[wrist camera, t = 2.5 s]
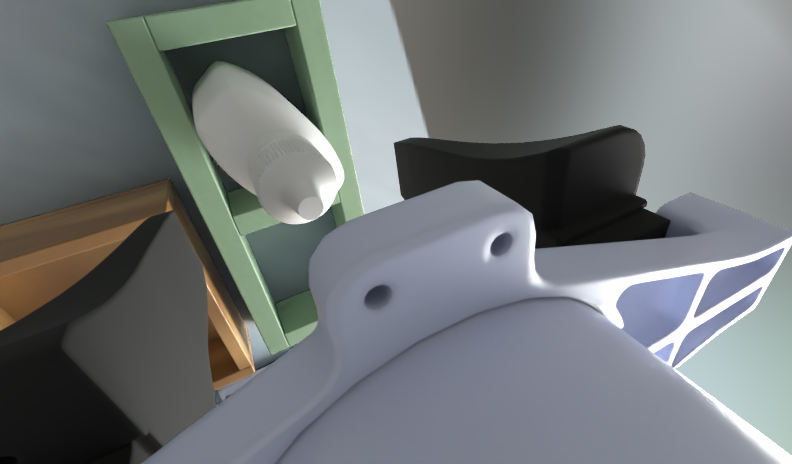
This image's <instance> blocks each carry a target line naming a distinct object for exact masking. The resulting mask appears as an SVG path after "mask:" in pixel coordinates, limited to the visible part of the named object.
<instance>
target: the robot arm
mask: <svg viewBox="0 0 792 464" xmlns="http://www.w3.org/2000/svg"><path fill="white" fill-rule="evenodd" d="M394 148H395V155H396V162H397V169H398V177H399V184H400V191H401V195H402V197H403V198H404V199H405V201H402V202H399V203H396V204H393V205H391V206H388V207H385V208H382V209H379V210H377V211H374V212H371V213H368V214H365V215H363V216H360V217H357V218H354V219H351V220H349V221H347V222H346V223H344V224H343V225H341V226H339V227H338V228H336V229H335V230H333V231H332V232H330V233H328V234H327V235H325V236H324V237H323V239H322V240H321V242H320V243H319V245H318V247H317V248H316V250H315V251H314V253H313V255H312V256H311V258H310V260H309V287H310V290H311V293H312V296H313V299H314V302H315V305H316V307H317V313H318V322H317V326H316V328H315V329H314V331H313V332H312V333H311V334H310V335H309V336H307V337H306V338H305V339H304V340H302V341H301V342H300V343H298V344H297V345H296V346H294V347H293V348H292V349H290V350H289V351H288V352H286V353H285V354H284V355H283V356H281V357H280V358H279V359H277V360H276V361H275V362H273V363H272V364H270V365H268V366H265V367H263V368H261V369H259V370H256V371H255V373H253V374H251V375H249V376H247V377H244V378H242V379H240V380H238V381H235V382H233V383H231V384H229V385H226V386H224V387H222V388H220V389H219V390H218V393H219V397H220V398H221V400H222V402H221V403H220V404H218V405H216V400H215V394H214V388H213V382H212V376H211V369H210V362H209V352H208V300H207V285H206V280H205V275H204V270H203V265H202V263H201V261H200V259H199V257H198V255H197V253H196V251H195V250H194V248H193V246H192V244H191V242H190V240H189V238H188V237H187V235H186V233H185V231H184V229H183V227H182V226H181V224H180V222H179V220H178V218H177V216H176V214H175V213H174V211H173V210H171V211H168V212H164V213H161V214H158V215H154V216H151V217H149V218H148V219H146V220H145V221H144V222H143V223H142V224H140V225H139V226H138V227H137V228H136V229H135V230H134V231H133V232H132V233H131V234H130V235H129V236H128V237H127V238H126V239H125V240H124V241H123V242H122V243H121V244H120V245H119V246H118V247H117V248H116V249H115V250H114V251H113V252H112V253H111V254H109V255H108V256H107V257H106V258H105V259H104V260H103V261H102V262H101V263H99V264H98V265H97V266H96V267H95V268H94V269H93V270H92V271H90V272H89V273H88V274H87V275H85V276H84V277H83V278H82V279H80V280H79V281H78V282H76V283H75V284H74V285H72V286H71V287H70V288H68V289H67V290H65V291H64V292H63V293H61V294H60V295H58V296H57V297H55V298H54V299H52V300H51V301H49V302H47V303H46V304H44V305H43V306H41V307H39V308H38V309H36V310H35V311H33V312H31V313H30V314H28V315H27V316H25V317H23V318H22V319H20V320H19V321H17V322H15V323H13V324H12V325H10V326H8V327H6V328H4V329H2V330H1V331H0V464H792V456H791V455H789V454H788V453H787V452H785V451H784V450H783V449H781V448H780V447H779V446H777V445H776V444H775V443H773V442H772V441H771V440H769V439H768V438H766V437H765V436H764V435H763V434H761V433H760V432H758V431H757V430H756V429H755V428H753V427H752V426H750V425H749V424H748V423H746V422H745V421H744V420H742V419H741V418H740V417H738V416H737V415H736V414H734V413H733V412H732V411H730V410H729V409H728V408H726V407H725V406H724V405H722V404H721V403H720V402H718V401H717V400H715V399H714V398H713V397H712V396H710V395H709V394H707V393H706V392H705V391H704V390H702V389H701V388H699V387H698V386H697V385H695V384H694V383H693V382H691V381H690V380H689V379H687V378H686V377H685V376H683V375H682V374H681V373H679V372H678V371H676V370H675V369H676V368H677V367H679V366H680V365H681V364H682V363H684V362H685V361H686V360H687V359H688V358H689V357H690V356H692V355H693V354H694V353H695V352H697V351H698V350H699V349H700V348H702V347H703V346H704V345H705V344H706V343H708V342H709V341H710V340H711V339H712V338H714V337H715V336H717V335H718V334H719V333H721V332H722V331H723V330H725V329H726V328H727V327H729V326H730V325H731V324H733V323H734V322H736V321H737V320H739V319H740V318H741V317H743V316H744V315H746V314H747V313H749V312H750V311H752V310H753V309H754V308H755V307H756V305H757V303H758V302H759V300H760V298H761V296H762V295H763V293H764V291H765V290H766V288H767V286H768V284H769V283H770V281H771V279H772V277H773V276H774V274H775V272H776V270H777V268H778V267H779V265H780V263H781V262H782V260H783V258H784V256H785V255H786V253H787V251H788V249H789V248H790V246H791V244H792V230H790V229H788V228H785V227H783V226H780V225H777V224H774V223H772V222H769V221H766V220H764V219H761V218H758V217H756V216H753V215H750V214H748V213H745V212H742V211H739V210H737V209H734V208H731V207H729V206H726V205H723V204H721V203H718V202H715V201H712V200H710V199H707V198H704V197H701V196H699V195H696V194H694V193H688V194H685V195H683V196H681V197H679V198H677V199H674V200H672V201H670V202H668V203H666V204H664V205H663V206H662V207H660V208H659V209H658V210H657V212H656V213H653V212H650V211H648V210H646V209H644V207H646V205H647V201H646V200H645V199H643V198H641V197H638V196H636V192H637V188H638V184H639V181H640V177H641V173H642V168H643V165H644V159H645V145H644V141H643V139H642V136H641V135H640V134H639V133H638V132H637V131H636V130H634V129H631V128H627V127H624V126H621V125H618V126H613V127H609V128H604V129H600V130H596V131H592V132H588V133H584V134H579V135H575V136H569V137H563V138H557V139H552V140H544V141H534V142H524V143H505V144H504V143H500V144H489V143H469V142H458V141H449V140H440V139H430V138H409V139H405V140H402V141H399V142H395V143H394ZM227 395H229V396H227Z"/></svg>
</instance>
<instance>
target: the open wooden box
mask: <svg viewBox="0 0 792 464" xmlns="http://www.w3.org/2000/svg"><path fill="white" fill-rule="evenodd" d="M171 210H173V211H174V213H175V214H176V216H177V218H178V220H179V222H180V224H181V226H182V227H183V229H184V231H185V233H186V235H187V237H188V238H189V240H190V242H191V244H192V246H193V248H194V250H195V251H196V253H197V255H198V257H199V259H200V261H201V263H202V265H203V270H204V275H205V280H206V285H207V300H208V352H209V362H210V369H211V376H212V382H213V388H214V391H215V390H218V389H220V388H222V387H224V386H226V385H229V384H231V383H233V382H235V381H238V380H240V379H242V378H244V377H247V376H249V375H251V374H253V373H255V367H254V362H253V357H252V351H251V346H250V340H249V335H248V329H247V327H246V325H245V323H244V321H243V319H242V317H241V316H240V314H239V312H238V310H237V308H236V306H235V304H234V302H233V300H232V298H231V296H230V294H229V292H228V290H227V289H226V287H225V285H224V283H223V281H222V279H221V277H220V275H219V273H218V271H217V269H216V267H215V265H214V263H213V262H212V260H211V258H210V256H209V254H208V252H207V250H206V248H205V246H204V244H203V242H202V240H201V238H200V236H199V235H198V233H197V231H196V229H195V227H194V225H193V223H192V221H191V219H190V217H189V215H188V213H187V211H186V209H185V208H184V206H183V204H182V202H181V200H180V198H179V196H178V194H177V192H176V190H175V188H174V186H173V184H172V182H171V181H170V179H166V180H163V181H159V182H156V183H152V184H148V185H145V186H141V187H138V188H134V189H131V190H127V191H124V192H120V193H116V194H113V195H109V196H106V197H102V198H99V199H95V200H91V201H88V202H84V203H81V204H77V205H74V206H70V207H67V208H63V209H59V210H56V211H52V212H49V213H45V214H42V215H38V216H34V217H31V218H27V219H24V220H20V221H17V222H13V223H10V224H6V225H2V226H0V331H1V330H2V329H4V328H6V327H8V326H10V325H12V324H13V323H15V322H17V321H19V320H20V319H22V318H23V317H25V316H27V315H28V314H30V313H31V312H33V311H35V310H36V309H38V308H39V307H41V306H43V305H44V304H46V303H47V302H49V301H51V300H52V299H54V298H55V297H57V296H58V295H60V294H61V293H63V292H64V291H65V290H67V289H68V288H70V287H71V286H72V285H74V284H75V283H76V282H78V281H79V280H80V279H82V278H83V277H84V276H85V275H87V274H88V273H89V272H90V271H92V270H93V269H94V268H95V267H96V266H97V265H98V264H99V263H101V262H102V261H103V260H104V259H105V258H106V257H107V256H108V255H109V254H111V253H112V252H113V251H114V250H115V249H116V248H117V247H118V246H119V245H120V244H121V243H122V242H123V241H124V240H125V239H126V238H127V237H128V236H129V235H130V234H131V233H132V232H133V231H134V230H135V229H136V228H137V227H138V226H139V225H140V224H142V223H143V222H144V221H145V220H146V219H148V218H149V217H151V216H154V215H158V214H161V213H164V212H168V211H171Z"/></svg>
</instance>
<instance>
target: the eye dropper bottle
mask: <svg viewBox="0 0 792 464" xmlns="http://www.w3.org/2000/svg"><path fill="white" fill-rule="evenodd" d="M192 103H193V117H194V123H195V127H196V131H197V134H198V136H199V138H200V139H201V141H202V143H203V145H204V146H205V147H206V149H207V150H208V152H209V153H210V154H211V156H212V157H213V158H214V159H215V161H216V162H217V163H218V164H219V165H220V166H221V167H222V169H223V170H224V171H225V172H226V173H227V174H228V175H229V176H231V177H232V178H233V179H234V180H235V181H236V182H237V183H239V184H240V185H241V186H243V187H244V188H245V189H247V190H248V191H250V192H251V193H253V194H255V195H256V196H257V198H258V200H259V202H260V205H261V206H262V208H263V209H264V210H265V212H267V213H268V215H271V217H273V218H274V219H276V220H278V221H281V222H282V223H283V222H285V223H286V224H287V223H289V224H300V223H301V224H303V223H307V222H310V221H313V220H315V219H317V218H318V217H320V216H321V215H323V214H324V212H326V211H327V210H328V209H329V207H330V206H331V204H332V203H333V200H334V199H335V198H334V197H335V196H336V193H337V191H338V190H339V189H340V187H341V186H342V184H343V181H344V171H343V168H342V165H341V163H340V160H339V158H338V156H337V155H336V153H335V151H334V149H333V148H332V146H331V145H330V143H329V142H328V141H327V139H326V138H325V137H324V136H323V134H322V133H321V132H320V131H319V130H318V129H317V128H316V127H315V126H314V125H313V124H312V123H311V122H310V121H309V120H308V119H307V118H306V117H305V116H304V115H303V114H302V113H301V112H300V111H299V110H297V109H296V108H295V107H294V106H293V105H292V104H291V103H290V102H289V101H288V100H287V99H286V98H285V97H283V96H282V95H281V94H280V93H279V92H278V91H277V90H276V89H275V88H273V87H272V86H271V85H270V84H268V83H267V82H266V81H264V80H263V79H261V78H260V77H258V76H257V75H255V74H253V73H251V72H250V71H248V70H246V69H244V68H241V67H239V66H237V65H234V64H231V63H228V62H225V61H216V62H214V63H212V64H211V65H210V66H209V67H208V69H207V70H206V71H205V72H204V74H203V75H202V76H201V77H200V79H199V80H198V81H197V83H196V84H195V86H194V88H193V91H192Z"/></svg>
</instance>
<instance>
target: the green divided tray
mask: <svg viewBox="0 0 792 464" xmlns="http://www.w3.org/2000/svg"><path fill="white" fill-rule="evenodd" d="M107 26H108V28H109V30H110V32H111V34H112V36H113V38H114V40H115V42H116V44H117V46H118V48H119V50H120V52H121V54H122V56H123V58H124V60H125V62H126V64H127V66H128V68H129V70H130V72H131V74H132V76H133V78H134V80H135V82H136V84H137V86H138V88H139V90H140V92H141V94H142V96H143V98H144V100H145V102H146V104H147V106H148V108H149V110H150V112H151V114H152V116H153V118H154V120H155V122H156V124H157V127H158V129H159V131H160V133H161V135H162V137H163V139H164V141H165V143H166V145H167V147H168V149H169V151H170V153H171V155H172V157H173V159H174V161H175V163H176V165H177V167H178V169H179V171H180V173H181V175H182V177H183V179H184V181H185V183H186V185H187V187H188V189H189V191H190V193H191V195H192V197H193V199H194V201H195V203H196V205H197V207H198V209H199V211H200V213H201V215H202V217H203V219H204V221H205V223H206V225H207V227H208V229H209V231H210V233H211V235H212V237H213V239H214V241H215V243H216V245H217V248H218V250H219V252H220V254H221V256H222V258H223V260H224V262H225V264H226V266H227V268H228V270H229V272H230V274H231V276H232V278H233V280H234V282H235V284H236V286H237V288H238V290H239V292H240V294H241V296H242V298H243V300H244V302H245V304H246V306H247V308H248V310H249V312H250V314H251V316H252V318H253V320H254V322H255V324H256V326H257V328H258V330H259V332H260V334H261V336H262V338H263V340H264V342H265V344H266V346H267V348H268V350H269V352H270V354H271V355H272V354H275V353H277V352H279V351H281V350H284V349H286V348H288V347H289V346H290V347H291V346H293V345H295V344H297V343H300V342H301V341H302V340H304V339H305V338H306V337H307V336H309V335H310V334H311V333H312V332H313V331H314V329H315V328H316V326H317V322H318V313H317V307H316V305H315V302H314V299H313V296H312V293H311V290H307V291H305V292H302V293H300V294H297V295H295V296H292V297H290V298H287V299H285V300H282V301H280V302H277V303H274V300H273V298H272V296H271V294H270V291H269V289H268V287H267V284H266V282H265V280H264V277H263V275H262V273H261V270H260V268H259V266H258V264H257V261H256V259H255V257H254V254H253V252H252V250H251V247H250V245H249V243H248V241H247V238H246V236H245V235H246V234H249V233H252V232H255V231H258V230H261V229H264V228H267V227H269V226H272V225H275V224H278V223H281V221H278V220H276V219H274V218H273V217H271V215H268V213H267V212H265V210H264V209H263V208H262V206H261V205H260V202H259V200H258V198H257V196H256V195H255V194H253V193H251V192H250V191H248V190H247V189H245V188H244V187H243V188H240V189H236V190H233V191H230V192H226V190H225V188H224V185H223V183H222V181H221V178H220V176H219V174H218V172H217V169H216V167H215V165H214V162H213V160H212V158H211V155H210V153H209V152H208V150H207V149H206V147H205V146H204V145H203V143H202V141H201V139H200V138H199V136H198V134H197V131H196V127H195V123H194V117H193V114H192V112H191V109H190V107H189V105H188V102H187V100H186V98H185V96H184V93H183V91H182V89H181V86H180V84H179V82H178V79H177V77H176V75H175V73H174V70H173V68H172V66H171V63H170V61H169V59H168V56H167V54H166V52H165V50H170V49H176V48H181V47H186V46H192V45H197V44H202V43H208V42H213V41H218V40H224V39H229V38H234V37H240V36H245V35H250V34H256V33H261V32H266V31H272V30H277V29H282V28H284V30H285V34H286V38H287V42H288V46H289V49H290V53H291V57H292V61H293V64H294V68H295V72H296V76H297V80H298V83H299V87H300V91H301V95H302V98H303V102H304V106H305V110H306V114H307V117H308V120H309V121H310V122H311V123H312V124H313V125H314V126H315V127H316V128H317V129H318V130H319V131H320V132H321V133H322V134H323V136H324V137H325V138H326V139H327V141H328V142H329V143H330V145H331V146H332V148H333V149H334V151H335V153H336V155H337V156H338V158H339V160H340V163H341V165H342V168H343V171H344V181H343V184H342V186H341V187H340V189H339V190H338V191H337V193H336V196H335V197H334V198H335V199H334V200H333V203H332V204H331V208H332V212H333V216H334V219H335V223H336V227H337V228H338V227H339V226H341V225H343V224H344V223H346V222H347V221H349V220H351V219H354V218H357V217H360V216H363V215H365V214H364V209H363V204H362V200H361V195H360V190H359V185H358V181H357V176H356V171H355V166H354V162H353V157H352V152H351V147H350V142H349V138H348V133H347V128H346V123H345V119H344V114H343V109H342V104H341V100H340V95H339V90H338V85H337V81H336V76H335V71H334V66H333V61H332V57H331V52H330V47H329V42H328V38H327V33H326V28H325V23H324V19H323V14H322V9H321V4H320V0H237V1H231V2H224V3H218V4H212V5H206V6H199V7H193V8H187V9H181V10H174V11H168V12H162V13H156V14H150V15H143V16H137V17H131V18H124V19H118V20H112V21H107Z"/></svg>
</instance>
